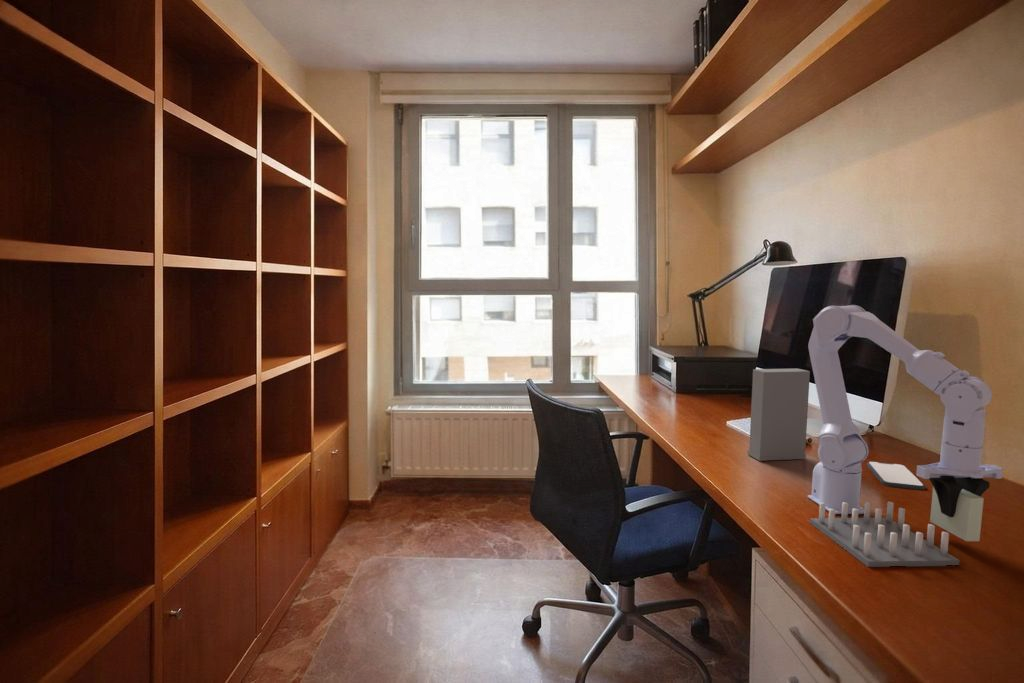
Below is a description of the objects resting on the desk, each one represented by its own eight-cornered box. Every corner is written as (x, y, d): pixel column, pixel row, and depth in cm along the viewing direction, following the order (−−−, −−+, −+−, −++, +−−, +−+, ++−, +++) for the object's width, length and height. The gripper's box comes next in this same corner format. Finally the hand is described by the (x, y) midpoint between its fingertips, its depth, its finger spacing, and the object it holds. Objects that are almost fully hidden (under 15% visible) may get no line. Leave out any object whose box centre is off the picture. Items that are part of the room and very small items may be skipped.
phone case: (927, 493, 125) (904, 470, 139) (927, 486, 124) (904, 464, 139) (883, 488, 128) (865, 466, 143) (883, 482, 128) (865, 460, 142)
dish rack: (809, 522, 107) (811, 499, 107) (886, 522, 108) (888, 498, 107) (868, 567, 90) (870, 539, 90) (958, 565, 91) (961, 538, 90)
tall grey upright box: (791, 453, 153) (796, 368, 150) (805, 459, 147) (810, 371, 144) (746, 454, 151) (750, 368, 149) (759, 461, 145) (763, 372, 143)
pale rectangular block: (929, 521, 102) (933, 481, 101) (941, 521, 102) (945, 481, 101) (966, 541, 94) (970, 498, 93) (979, 541, 94) (983, 498, 93)
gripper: (941, 450, 92) (934, 524, 94) (1021, 450, 93) (1013, 524, 94) (910, 439, 99) (904, 508, 101) (985, 438, 100) (978, 507, 101)
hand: (955, 514), depth 98 cm, fingers closed on pale rectangular block, 2 cm apart
